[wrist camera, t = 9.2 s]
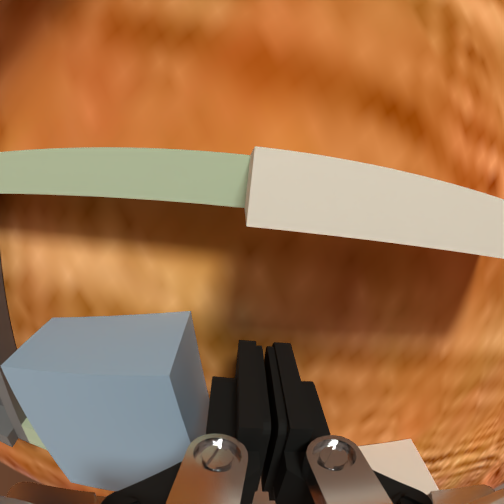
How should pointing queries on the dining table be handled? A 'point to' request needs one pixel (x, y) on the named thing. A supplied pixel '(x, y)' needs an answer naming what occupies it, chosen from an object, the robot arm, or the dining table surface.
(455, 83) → the dining table surface
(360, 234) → the two-pronged grey tray
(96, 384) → the block
